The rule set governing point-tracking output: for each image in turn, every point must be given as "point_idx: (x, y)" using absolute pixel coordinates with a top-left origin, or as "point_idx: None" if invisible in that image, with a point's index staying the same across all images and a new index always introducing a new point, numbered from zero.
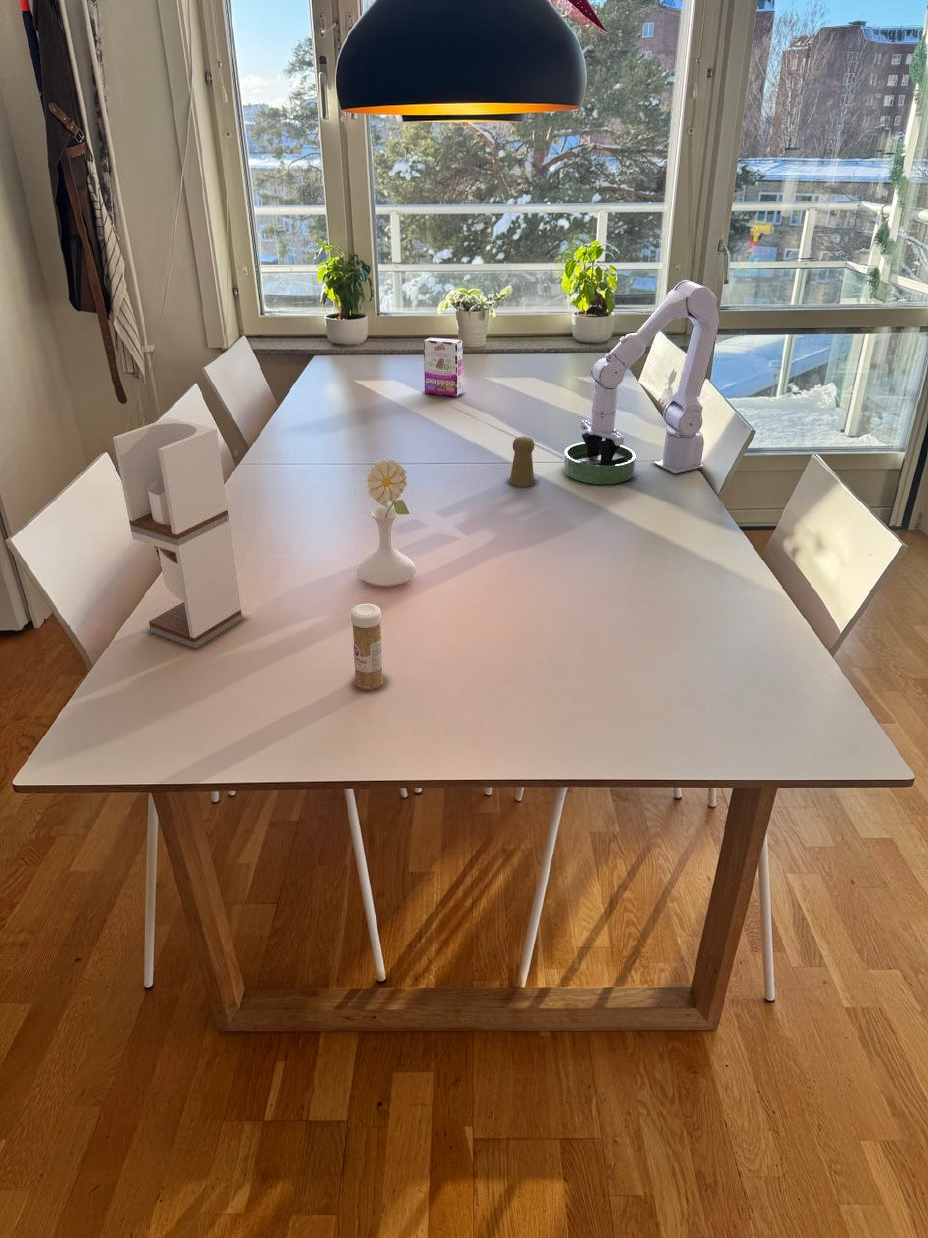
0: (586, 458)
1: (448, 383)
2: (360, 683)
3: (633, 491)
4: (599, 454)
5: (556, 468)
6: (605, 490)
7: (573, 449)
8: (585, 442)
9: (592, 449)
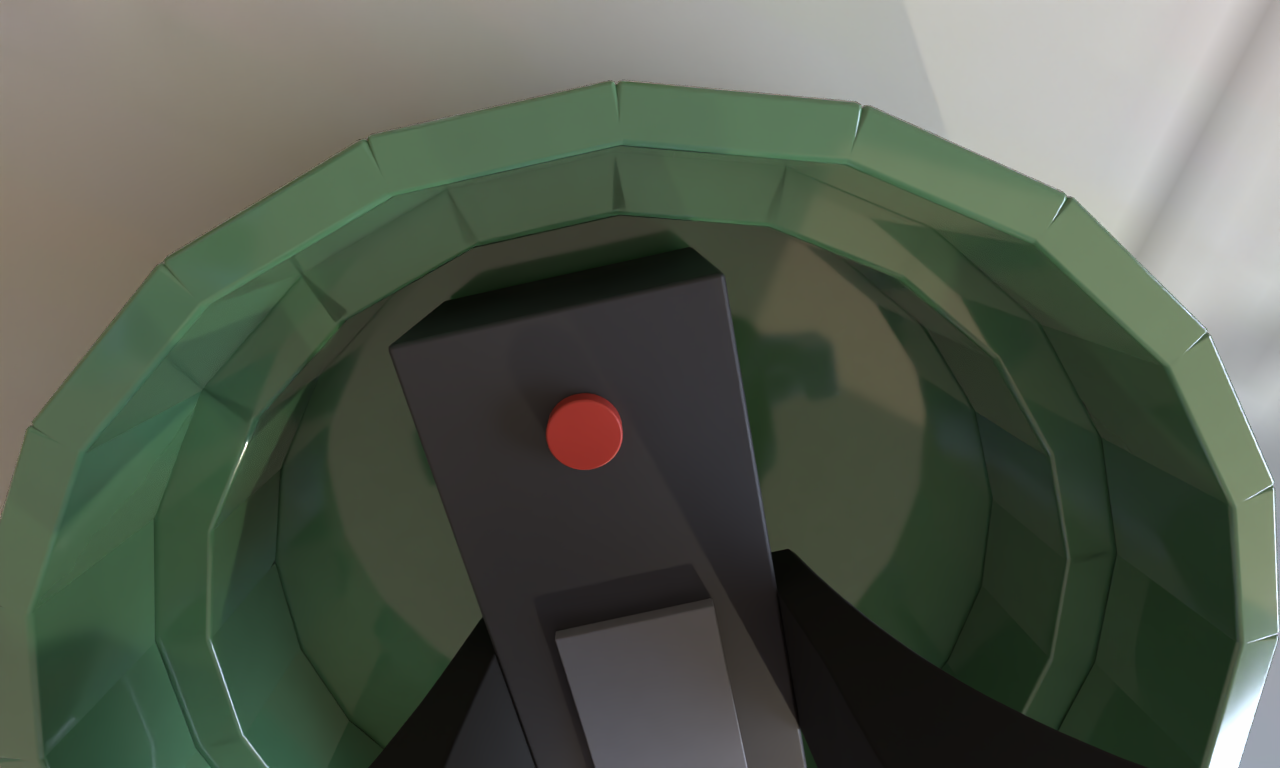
0: (727, 521)
1: None
2: None
3: None
4: None
5: (976, 117)
6: None
7: (1163, 469)
8: (995, 730)
9: (833, 724)
